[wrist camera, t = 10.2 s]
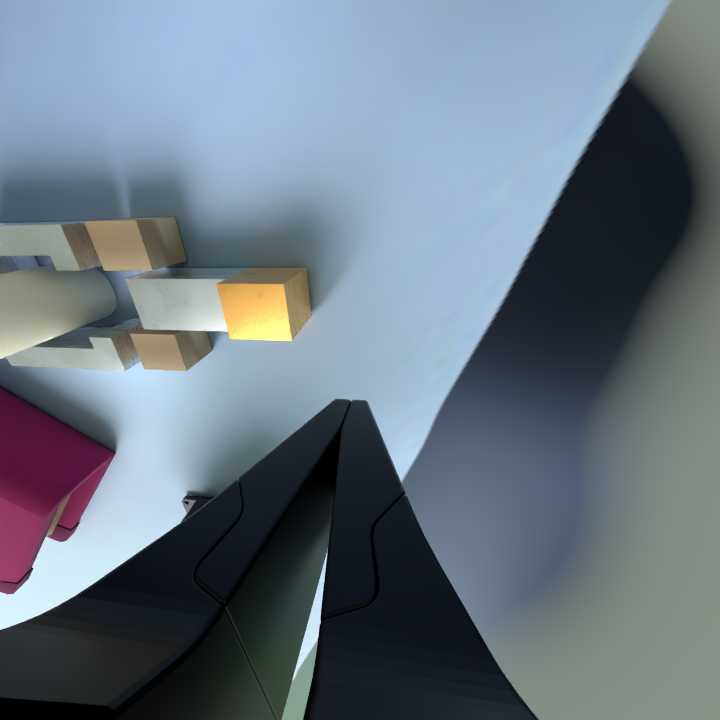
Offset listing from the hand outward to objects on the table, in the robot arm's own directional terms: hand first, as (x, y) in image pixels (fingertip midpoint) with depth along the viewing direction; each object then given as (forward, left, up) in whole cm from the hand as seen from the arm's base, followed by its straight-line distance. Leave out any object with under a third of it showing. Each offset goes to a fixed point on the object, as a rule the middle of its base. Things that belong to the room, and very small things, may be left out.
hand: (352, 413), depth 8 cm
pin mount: (0, +14, -12) cm, 18 cm away
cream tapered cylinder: (0, +20, -12) cm, 24 cm away
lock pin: (0, +10, -12) cm, 15 cm away
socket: (0, +21, -12) cm, 24 cm away
